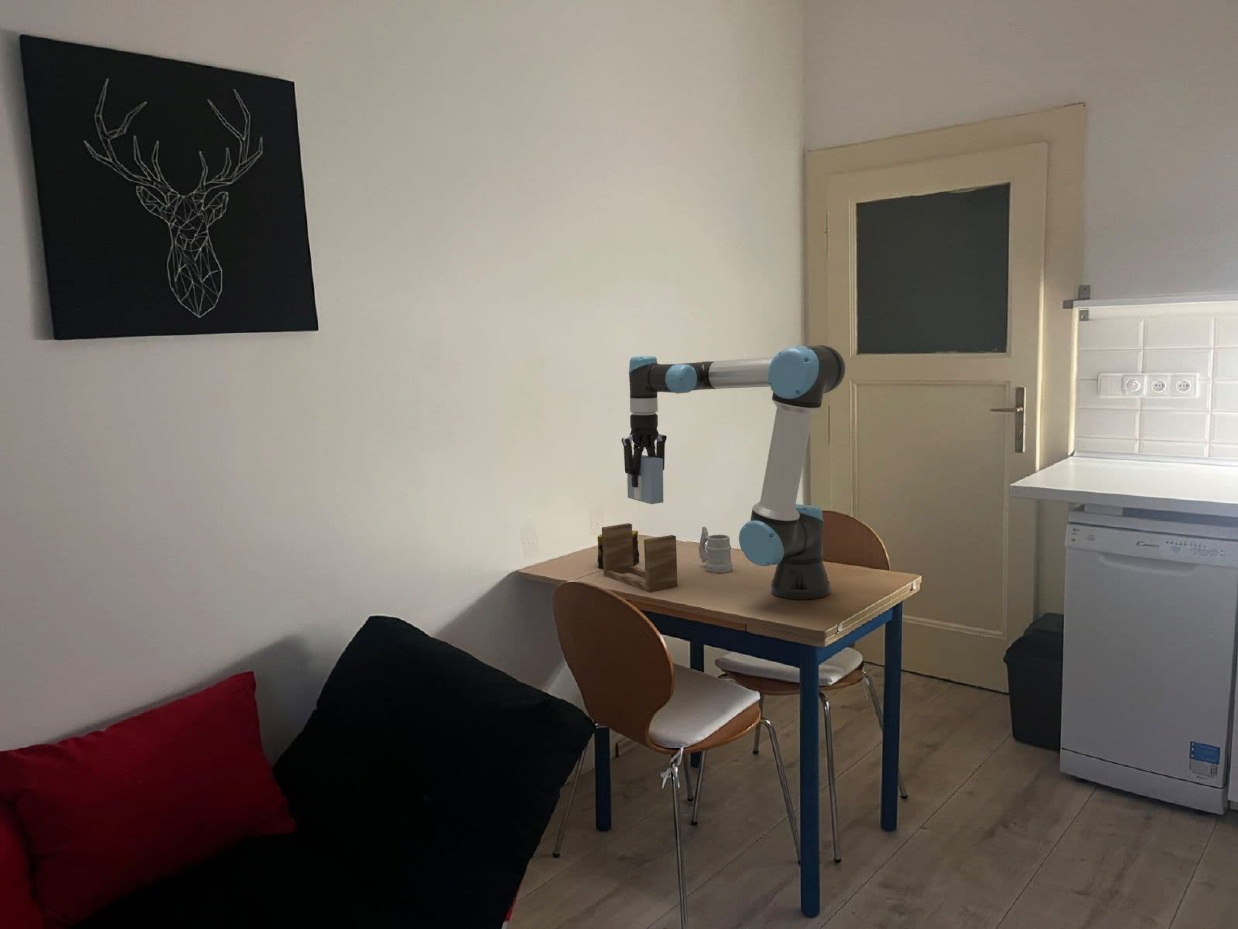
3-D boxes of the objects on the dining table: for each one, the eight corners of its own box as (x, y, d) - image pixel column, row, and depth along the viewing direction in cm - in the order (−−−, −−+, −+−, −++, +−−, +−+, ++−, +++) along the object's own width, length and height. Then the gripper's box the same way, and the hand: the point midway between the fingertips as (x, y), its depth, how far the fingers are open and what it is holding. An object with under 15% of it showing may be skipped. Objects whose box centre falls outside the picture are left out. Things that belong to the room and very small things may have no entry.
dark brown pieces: (609, 561, 283) (607, 529, 281) (640, 562, 279) (639, 530, 278) (597, 569, 273) (595, 536, 272) (629, 570, 270) (628, 537, 268)
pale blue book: (663, 502, 250) (662, 458, 248) (651, 504, 248) (650, 460, 246) (639, 496, 260) (639, 454, 258) (627, 497, 258) (626, 455, 256)
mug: (719, 575, 261) (718, 533, 259) (690, 568, 270) (689, 527, 268) (738, 570, 265) (737, 529, 264) (709, 563, 274) (708, 523, 273)
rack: (677, 586, 250) (675, 536, 248) (649, 592, 245) (648, 540, 243) (630, 570, 270) (628, 523, 268) (603, 575, 265) (601, 527, 264)
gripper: (662, 410, 258) (663, 492, 261) (609, 414, 249) (611, 499, 253) (677, 412, 251) (678, 496, 255) (624, 416, 243) (626, 503, 246)
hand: (645, 497), depth 254 cm, fingers closed on pale blue book, 4 cm apart
